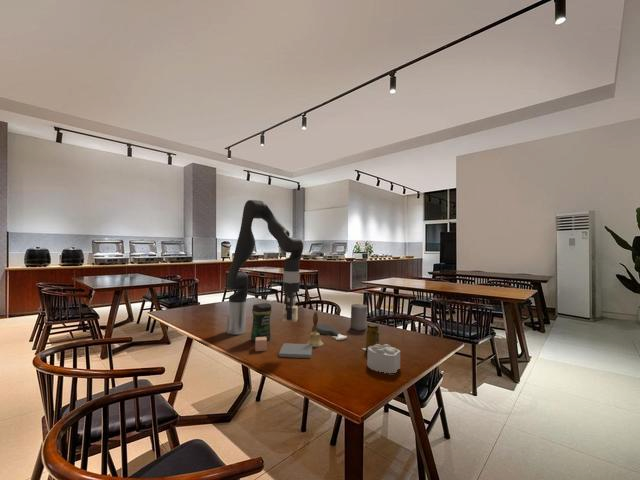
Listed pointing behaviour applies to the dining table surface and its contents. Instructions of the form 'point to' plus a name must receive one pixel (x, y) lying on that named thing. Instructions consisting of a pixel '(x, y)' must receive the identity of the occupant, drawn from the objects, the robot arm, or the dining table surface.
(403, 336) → the dining table surface
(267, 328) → the coffee jar
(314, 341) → the hand bell
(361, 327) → the pillar candle
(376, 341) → the condiment
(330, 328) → the spray bottle
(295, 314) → the birch cube
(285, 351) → the slate tile
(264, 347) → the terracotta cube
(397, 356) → the lumpy-topped squat cylinder
